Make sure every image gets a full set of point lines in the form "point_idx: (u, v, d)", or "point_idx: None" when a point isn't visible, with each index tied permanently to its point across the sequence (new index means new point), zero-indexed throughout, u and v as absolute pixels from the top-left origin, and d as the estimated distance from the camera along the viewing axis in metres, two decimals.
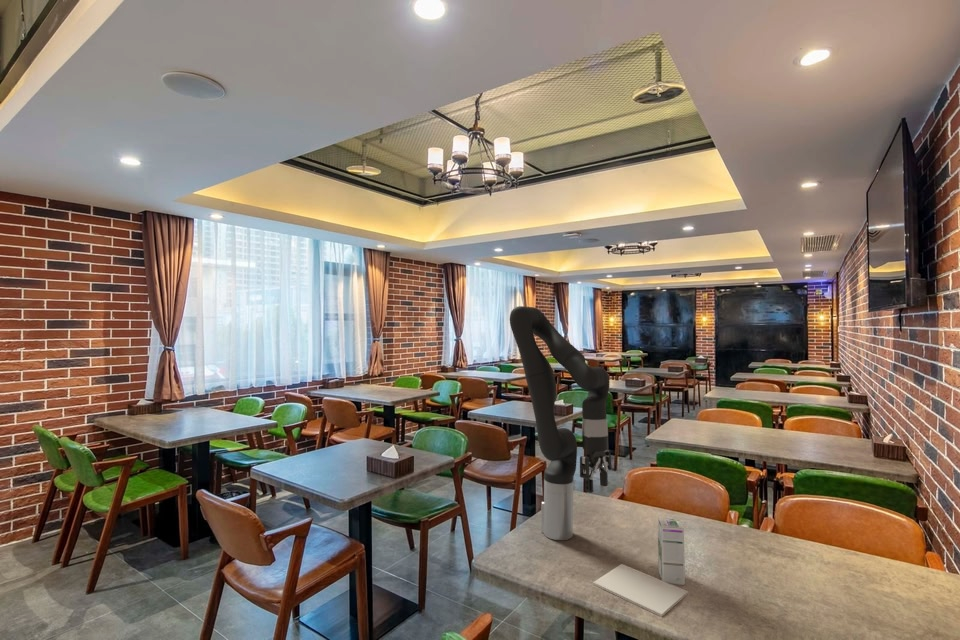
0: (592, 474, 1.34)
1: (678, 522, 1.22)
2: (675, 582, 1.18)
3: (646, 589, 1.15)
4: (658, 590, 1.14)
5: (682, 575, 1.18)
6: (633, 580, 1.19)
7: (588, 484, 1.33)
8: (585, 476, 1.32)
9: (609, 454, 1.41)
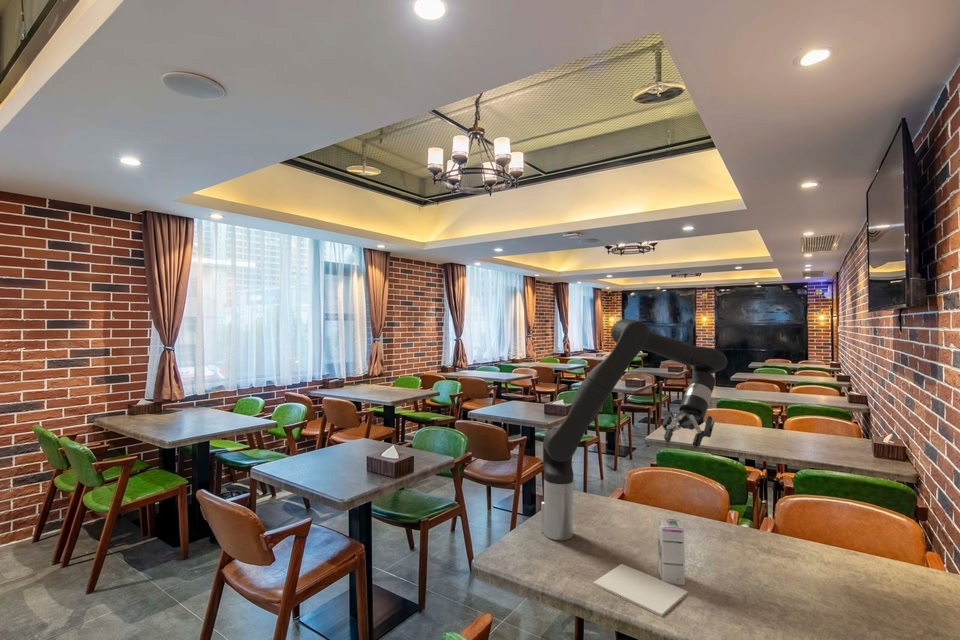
0: None
1: (678, 522, 1.22)
2: (675, 582, 1.18)
3: (646, 589, 1.15)
4: (658, 590, 1.14)
5: (682, 575, 1.18)
6: (633, 580, 1.19)
7: (701, 440, 1.36)
8: (710, 434, 1.36)
9: None
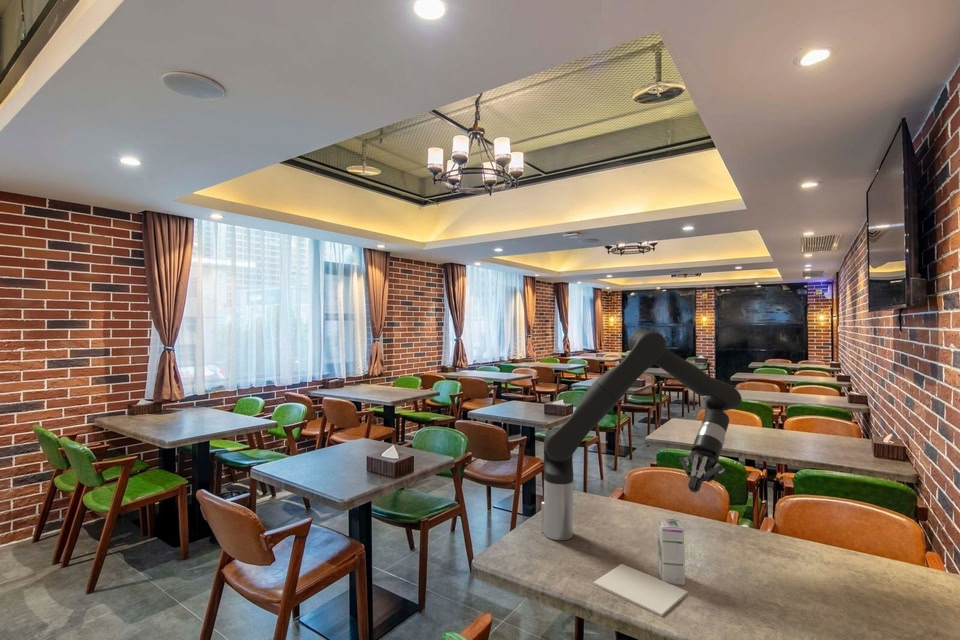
0: None
1: (678, 522, 1.22)
2: (675, 582, 1.18)
3: (646, 589, 1.15)
4: (658, 590, 1.14)
5: (682, 575, 1.18)
6: (633, 580, 1.19)
7: (700, 485, 1.32)
8: (709, 479, 1.32)
9: None
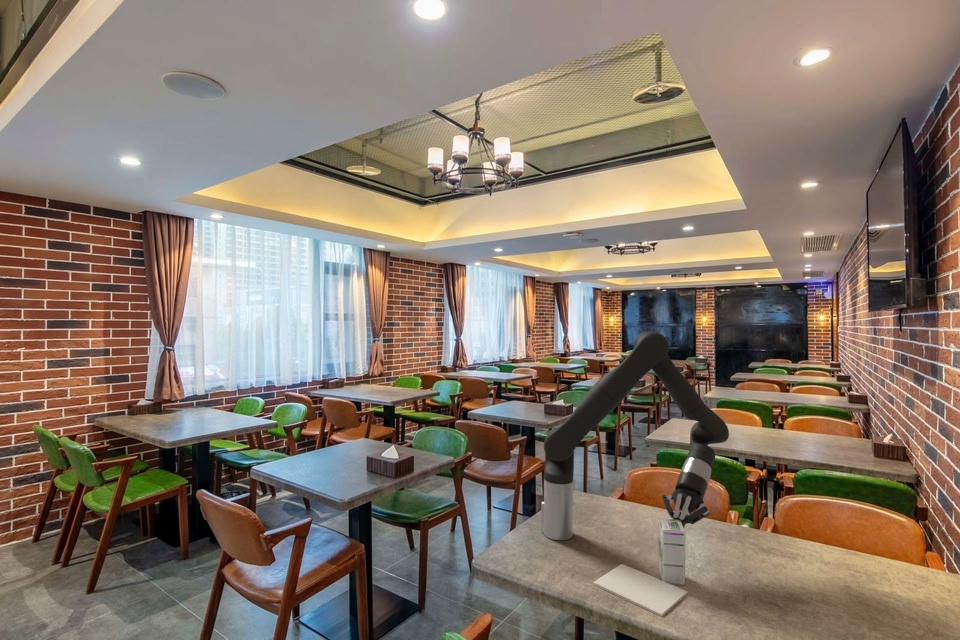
0: None
1: (679, 524, 1.20)
2: (675, 582, 1.18)
3: (646, 589, 1.15)
4: (658, 590, 1.14)
5: (682, 576, 1.18)
6: (633, 580, 1.19)
7: (683, 527, 1.24)
8: (693, 521, 1.24)
9: None
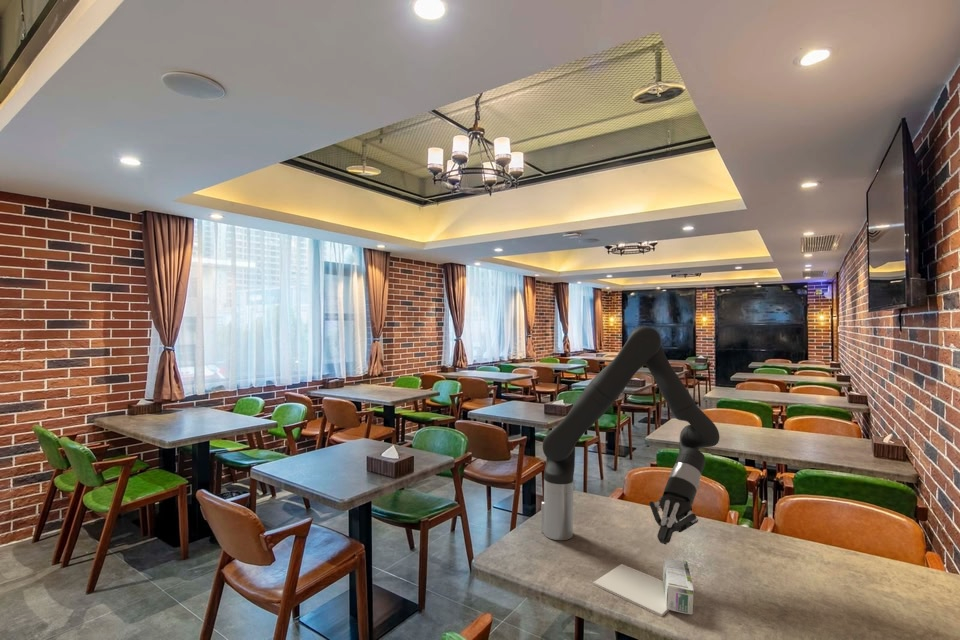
0: None
1: (689, 599, 1.05)
2: None
3: (646, 589, 1.15)
4: (658, 590, 1.14)
5: None
6: (633, 580, 1.19)
7: (671, 536, 1.18)
8: (681, 529, 1.18)
9: None
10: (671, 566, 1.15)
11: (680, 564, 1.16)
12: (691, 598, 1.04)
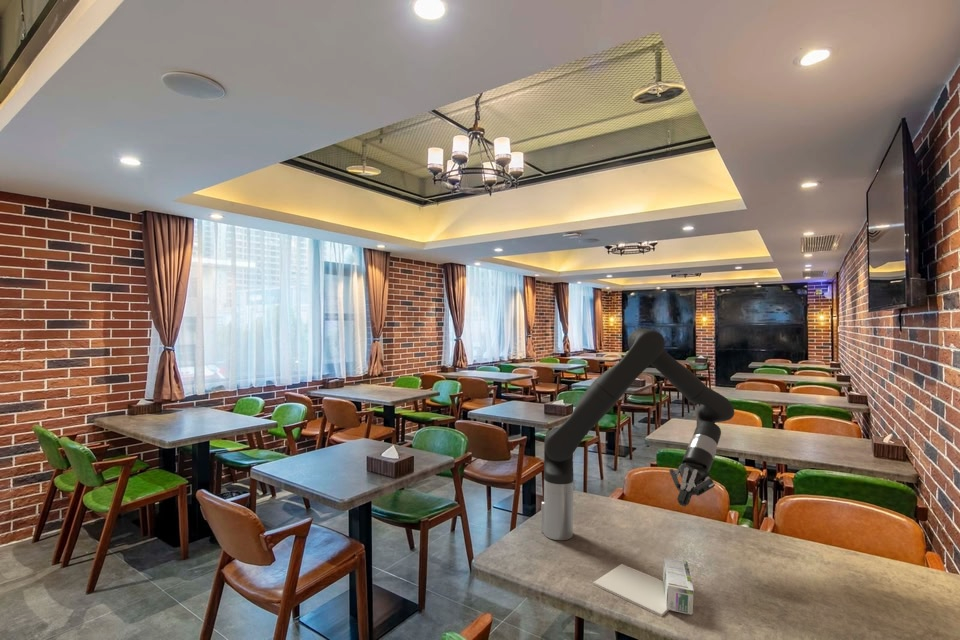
0: None
1: (689, 599, 1.05)
2: None
3: (646, 589, 1.15)
4: (658, 590, 1.14)
5: None
6: (633, 580, 1.19)
7: (689, 498, 1.30)
8: (699, 492, 1.30)
9: None
10: (671, 566, 1.15)
11: (680, 564, 1.16)
12: (691, 598, 1.04)
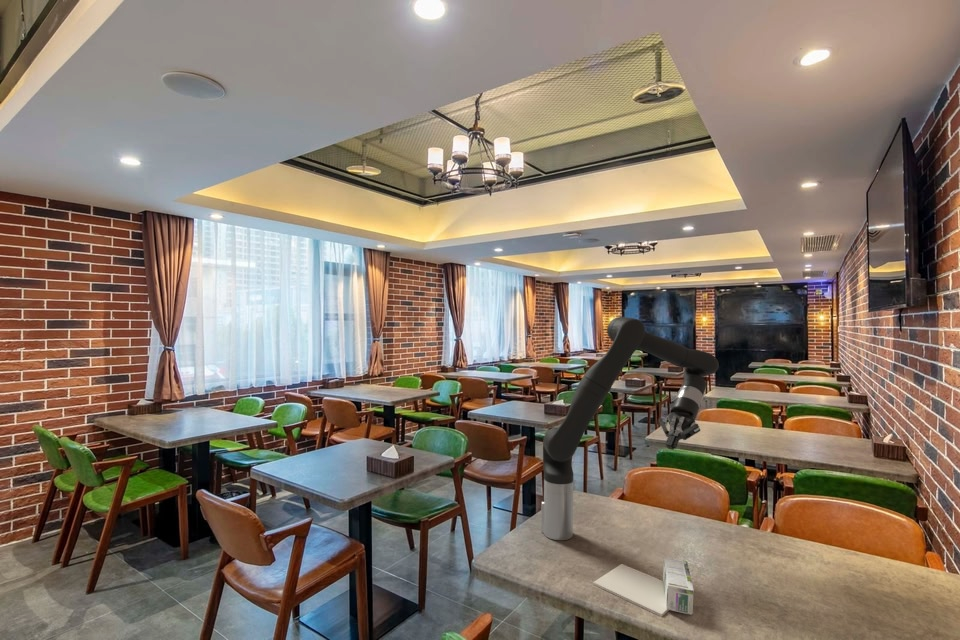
0: None
1: (689, 599, 1.05)
2: None
3: (646, 589, 1.15)
4: (658, 590, 1.14)
5: None
6: (633, 580, 1.19)
7: (677, 442, 1.40)
8: (686, 437, 1.40)
9: None
10: (671, 566, 1.15)
11: (680, 564, 1.16)
12: (691, 598, 1.04)
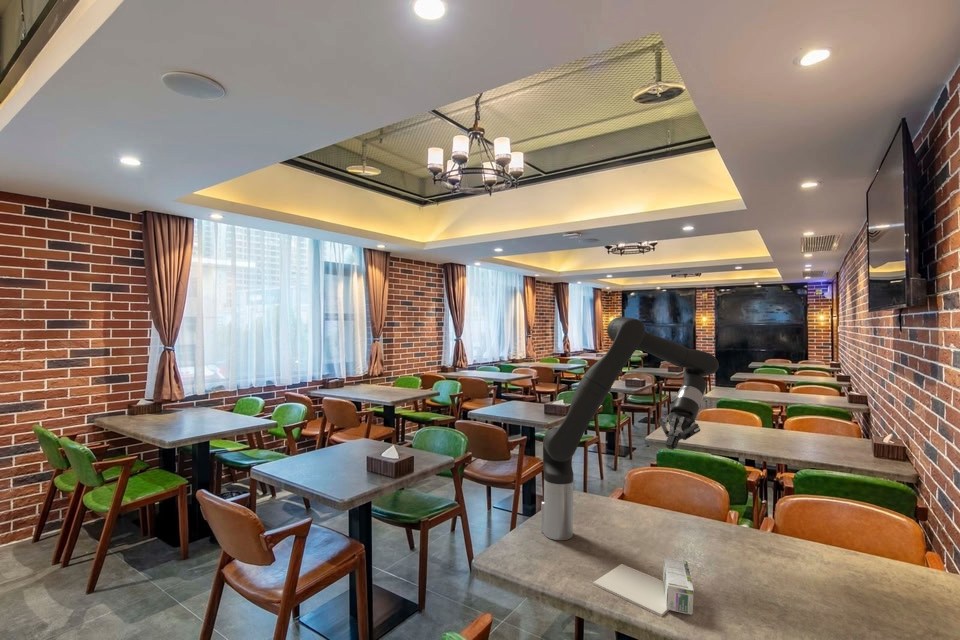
0: None
1: (689, 599, 1.05)
2: None
3: (646, 589, 1.15)
4: (658, 590, 1.14)
5: None
6: (633, 580, 1.19)
7: (677, 442, 1.40)
8: (686, 437, 1.40)
9: None
10: (671, 566, 1.15)
11: (680, 564, 1.16)
12: (691, 598, 1.04)
